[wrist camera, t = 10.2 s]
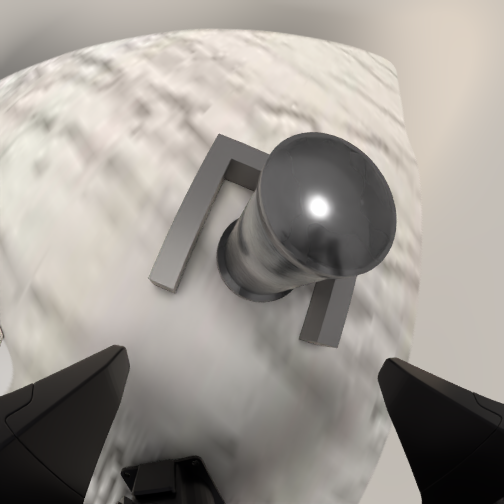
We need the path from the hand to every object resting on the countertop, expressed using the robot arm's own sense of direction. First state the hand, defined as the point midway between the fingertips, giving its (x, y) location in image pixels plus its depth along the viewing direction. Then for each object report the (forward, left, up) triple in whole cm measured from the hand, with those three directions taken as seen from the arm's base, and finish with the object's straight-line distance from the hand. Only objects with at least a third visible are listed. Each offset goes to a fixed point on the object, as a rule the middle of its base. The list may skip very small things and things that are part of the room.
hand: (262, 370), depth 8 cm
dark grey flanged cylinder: (+5, -4, -11) cm, 12 cm away
